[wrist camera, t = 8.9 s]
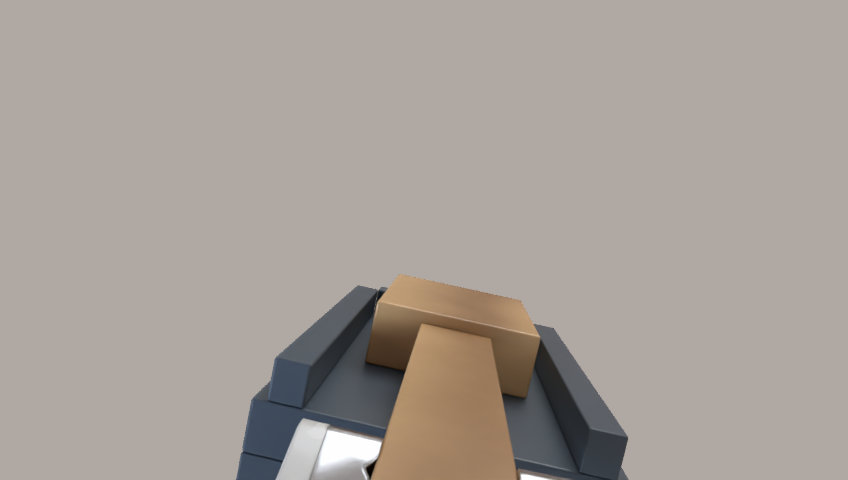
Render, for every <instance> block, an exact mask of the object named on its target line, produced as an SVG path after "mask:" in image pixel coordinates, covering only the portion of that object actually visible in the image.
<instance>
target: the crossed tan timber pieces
mask: <svg viewBox="0 0 848 480" xmlns="http://www.w3.org/2000/svg"><path fill="white" fill-rule="evenodd" d="M539 343H540V336H539V334H538V332H537V330H536V328H535V326H534V324H533V323H532V321H531V319H530V317H529V315H528V313H527V312H526V310H525V308H524V306H523V304H522V302H521V301H520V300H516V299H512V298H507V297H503V296H498V295H493V294H488V293H484V292H480V291H475V290H470V289H466V288H461V287H457V286H452V285H448V284H443V283H438V282H434V281H429V280H425V279H420V278H416V277H411V276H406V275H402V274H399V275H398V277H397V278H396V279H395V280H394V282H393V283H392V284H391V285H390V287H389V288H388V289H387V290H386V292H385V293H384V294H383V295H382V297H381V298H380V299H379V300H378V302H377V305H376V310H375V315H374V319H373V324H372V329H371V334H370V339H369V344H368V349H367V353H366V358H365V362H366V363H369V364H374V365H378V366H383V367H387V368H392V369H396V370H400V371H405V375H404V378H403V381H402V384H401V387H400V390H399V393H398V396H397V399H396V402H395V405H394V408H393V412H392V415H391V418H390V421H389V424H388V427H387V430H386V433H385V436H384V440H383V444H382V447H381V451H380V454H379V457H378V460H377V461H376V464H375V467H374V470H373V473H372V476H371V480H518V477H517V472H516V466H515V461H514V456H513V451H512V445H511V440H510V435H509V430H508V425H507V420H506V415H505V409H504V404H503V399H502V394H507V395H511V396H516V397H520V398H526V397H527V395H528V390H529V386H530V382H531V378H532V373H533V369H534V365H535V360H536V356H537V352H538V347H539ZM501 393H502V394H501Z"/></svg>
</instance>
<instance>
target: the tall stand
mask: <svg viewBox="0 0 848 480" xmlns="http://www.w3.org/2000/svg"><path fill="white" fill-rule="evenodd" d="M387 289H388V288H385V287H381V288H380V289H379V291H377V290H376V289H372V288H367V287H363V286H357V287H355V288H354V289H353V290H352V291H351V292H350V293H349V294H348V295H346V296H345V297H344V298H343V299H342V300H341V301H340V302H339V303H337V304H336V305H335V306H334V307H333V308H332V309H331V310H329V311H328V312H327V313H326V314H325V315H324V316H323V317H321V318H320V319H319V320H318V321H317V322H316V323H314V324H313V325H312V326H311V327H310V328H309V329H308V330H307V331H305V332H304V333H303V334H302V335H301V336H300V337H299V338H297V339H296V340H295V341H294V342H293V343H292V344H291V345H289V347H287V348H286V349H285V350H284V351H283V352H282V353H280V354H279V355H278V356H277V357H276V358H275V361H274V367H273V372H272V377H271V381H270V382H269V383H268V384H267V385H266V386H265V387H264V388H263V389H262V390H261V391H260V392H259V393H258V394H256V396H254V397H253V399H252V400H251V406H250V411H249V416H248V421H247V427H246V432H245V438H244V442H243V452H242V453H241V457H240V462H239V468H238V474H237V478H236V480H276V478H277V475H278V473H279V470H280V468H281V465H282V463H283V460H284V458H285V455H286V453H287V451H288V448H289V446H290V443H291V441H292V438H293V436H294V433H295V431H296V428H297V426H298V425H299V423H300V422H301V420H302V419H303V418H304V419H309V420H313V421H317V422H322V423H326V424H330V425H333V426H337V427H341V428H345V429H349V430H353V431H357V432H361V433H365V434H369V435H373V436H377V437H381V438H384V436H385V433H386V430H387V427H388V424H389V421H390V418H391V415H392V412H393V408H394V405H395V402H396V399H397V396H398V393H399V390H400V387H401V384H402V381H403V378H404V375H405V371H400V370H396V369H392V368H387V367H383V366H378V365H374V364H369V363H366V362H365V358H366V353H367V349H368V344H369V339H370V334H371V329H372V324H373V319H374V315H375V310H376V305H377V302H378V300H379V299H380V298H381V297H382V295H383V294H384V293H385V292H386V290H387ZM377 293H378V295H377ZM376 298H377V300H376ZM375 303H376V304H375ZM374 307H375V309H374ZM534 326H535V328H536V330H537V332H538V334H539V336H540V343H539V347H538V352H537V356H536V360H535V365H534V369H533V373H532V378H531V382H530V386H529V390H528V395H527V397H526V398H520V397H516V396H511V395H507V394H502V393H501V394H502V399H503V404H504V409H505V415H506V420H507V425H508V430H509V435H510V440H511V445H512V451H513V456H514V461H515V466H516V471H517V470H518V469H519V468H521V469H525V470H530V471H535V472H539V473H544V474H549V475H554V476H558V477H563V478H568V479H572V480H628V478H627V476H626V475H625V473H624V471H623V469H622V468H621V465H622V461H623V457H624V453H625V449H626V445H627V441H628V436H627V435H626V433H625V432H624V430H623V429H622V428H621V426H620V425H619V423H618V422H617V420H616V419H615V417H614V416H613V414H612V413H611V411H610V410H609V409H608V407H607V406H606V404H605V403H604V401H603V400H602V398H601V397H600V395H599V394H598V392H597V391H596V390H595V388H594V387H593V385H592V384H591V382H590V381H589V379H588V378H587V376H586V375H585V374H584V372H583V371H582V369H581V368H580V366H579V365H578V363H577V362H576V360H575V359H574V357H573V356H572V354H571V353H570V352H569V350H568V349H567V347H566V346H565V344H564V343H563V341H562V340H561V339H560V337H559V335H558V334H557V333H556V331H555V330H554V328H550V327H545V326H541V325H536V324H534Z"/></svg>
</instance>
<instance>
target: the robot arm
mask: <svg viewBox="0 0 848 480" xmlns="http://www.w3.org/2000/svg"><path fill="white" fill-rule="evenodd" d="M383 440H384V438H381V437H377V436H373V435H369V434H365V433H361V432H357V431H353V430H349V429H345V428H341V427H337V426H333V425H330V424H326V423H322V422H317V421H313V420H309V419H304V418H303V419H302V420H301V422H300V423H299V425H298V426H297V428H296V431H295V433H294V436H293V438H292V441H291V443H290V446H289V448H288V451H287V453H286V455H285V458H284V460H283V463H282V465H281V468H280V470H279V473H278V475H277V478H276V480H371V476H372V473H373V470H374V467H375V464H376V461H377V460H378V457H379V454H380V451H381V447H382V444H383ZM516 472H517V477H518V480H572V479H568V478H563V477H558V476H554V475H549V474H544V473H539V472H535V471H530V470H525V469H521V468H519V469H518V470H517V471H516Z"/></svg>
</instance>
